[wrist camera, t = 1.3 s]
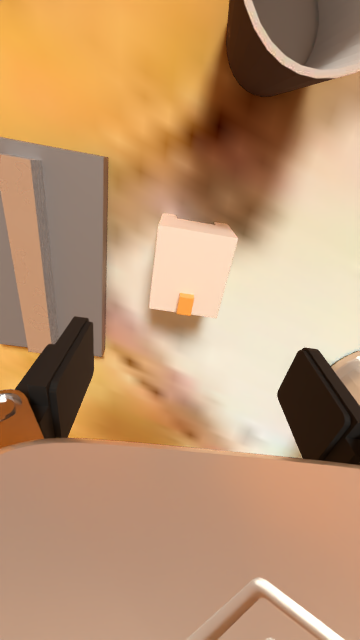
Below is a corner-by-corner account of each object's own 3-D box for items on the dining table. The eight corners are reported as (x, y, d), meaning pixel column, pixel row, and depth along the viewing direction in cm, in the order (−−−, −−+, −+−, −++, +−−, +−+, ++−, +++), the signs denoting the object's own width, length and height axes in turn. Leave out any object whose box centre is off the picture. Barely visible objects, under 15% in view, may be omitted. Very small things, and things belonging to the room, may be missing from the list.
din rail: (41, 160, 20) (30, 160, 19) (59, 344, 29) (52, 354, 28) (8, 154, 20) (-7, 153, 18) (36, 341, 29) (28, 351, 28)
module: (227, 224, 24) (240, 241, 19) (210, 291, 28) (217, 323, 22) (163, 212, 24) (157, 227, 18) (154, 283, 27) (147, 312, 22)
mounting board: (108, 157, 21) (103, 156, 20) (104, 348, 31) (101, 356, 30) (-46, 128, 20) (-61, 125, 19) (2, 335, 31) (-6, 342, 29)
